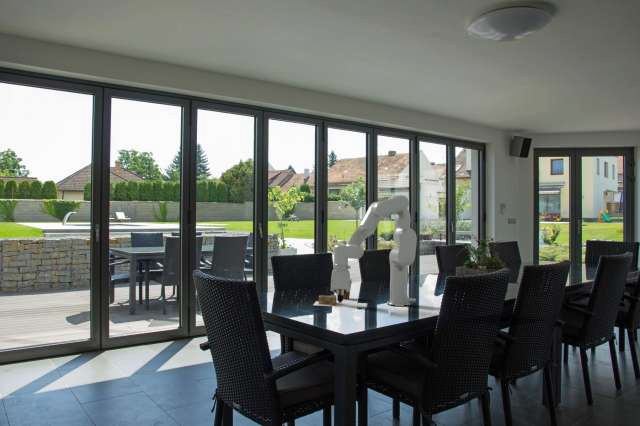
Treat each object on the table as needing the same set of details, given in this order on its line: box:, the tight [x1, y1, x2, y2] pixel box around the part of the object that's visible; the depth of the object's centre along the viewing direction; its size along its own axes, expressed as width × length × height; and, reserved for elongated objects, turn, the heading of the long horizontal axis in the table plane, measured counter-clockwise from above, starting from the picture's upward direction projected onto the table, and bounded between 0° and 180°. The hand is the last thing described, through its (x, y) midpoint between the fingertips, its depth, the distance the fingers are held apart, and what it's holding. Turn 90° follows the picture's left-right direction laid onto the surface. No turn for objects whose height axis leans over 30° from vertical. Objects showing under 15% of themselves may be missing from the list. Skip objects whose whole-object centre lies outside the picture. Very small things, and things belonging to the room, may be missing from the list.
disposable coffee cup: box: [339, 278, 353, 300], centre depth 279 cm, size 10×10×12 cm
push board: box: [313, 300, 368, 308], centre depth 260 cm, size 28×12×1 cm, turn 83°
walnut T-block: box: [318, 294, 337, 305], centre depth 261 cm, size 9×9×4 cm
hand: (340, 302), depth 260 cm, fingers closed
